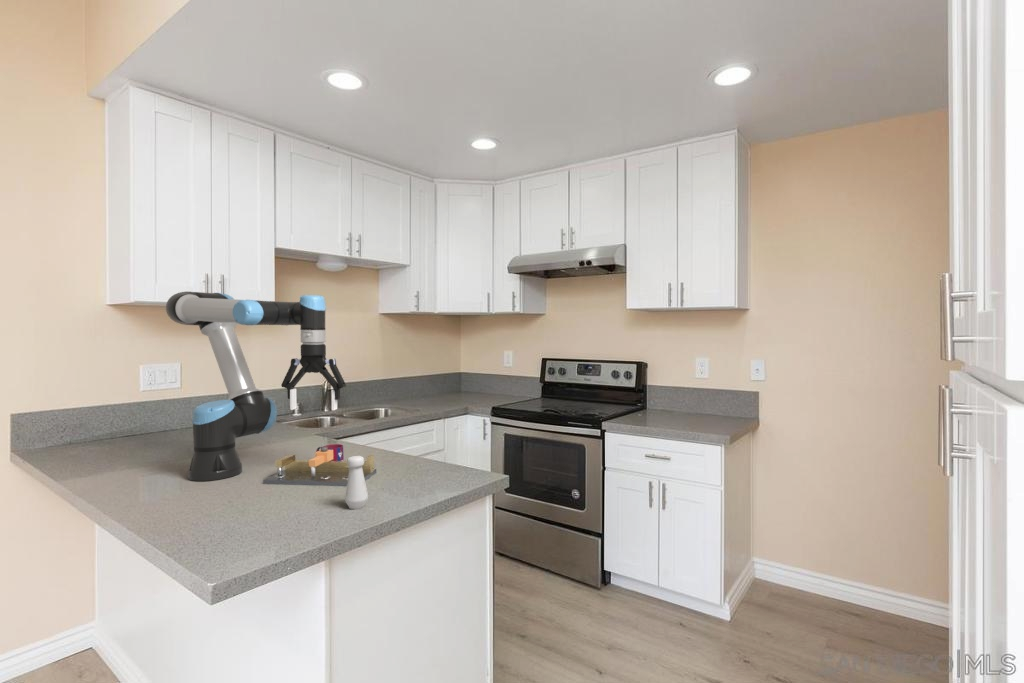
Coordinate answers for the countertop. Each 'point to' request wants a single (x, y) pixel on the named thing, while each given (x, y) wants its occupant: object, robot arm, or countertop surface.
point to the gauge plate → (312, 478)
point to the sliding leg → (320, 458)
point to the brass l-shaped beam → (324, 467)
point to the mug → (335, 451)
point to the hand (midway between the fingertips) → (313, 409)
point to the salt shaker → (356, 483)
